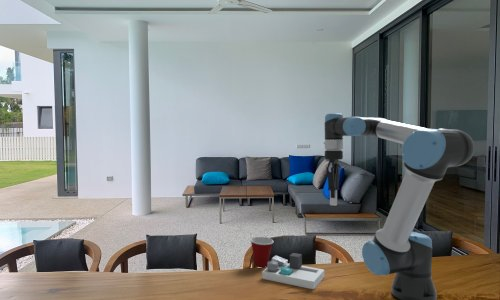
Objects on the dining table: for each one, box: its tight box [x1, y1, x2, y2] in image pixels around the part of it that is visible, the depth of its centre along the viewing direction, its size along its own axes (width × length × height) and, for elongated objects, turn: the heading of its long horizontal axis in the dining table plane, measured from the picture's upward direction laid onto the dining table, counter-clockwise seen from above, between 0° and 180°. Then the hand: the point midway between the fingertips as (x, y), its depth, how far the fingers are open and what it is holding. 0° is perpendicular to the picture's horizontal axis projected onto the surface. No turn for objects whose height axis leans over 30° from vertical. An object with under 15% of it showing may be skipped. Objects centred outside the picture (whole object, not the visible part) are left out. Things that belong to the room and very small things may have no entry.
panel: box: [261, 262, 326, 290], centre depth 147 cm, size 22×14×4 cm, turn 61°
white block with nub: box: [270, 255, 289, 266], centre depth 154 cm, size 6×4×1 cm, turn 61°
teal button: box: [281, 267, 291, 276], centre depth 145 cm, size 4×4×3 cm
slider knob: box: [289, 252, 303, 269], centre depth 150 cm, size 4×4×5 cm
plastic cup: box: [249, 236, 274, 269], centre depth 162 cm, size 11×11×12 cm
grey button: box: [266, 260, 278, 272], centre depth 148 cm, size 4×4×3 cm
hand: (333, 205), depth 152 cm, fingers closed
